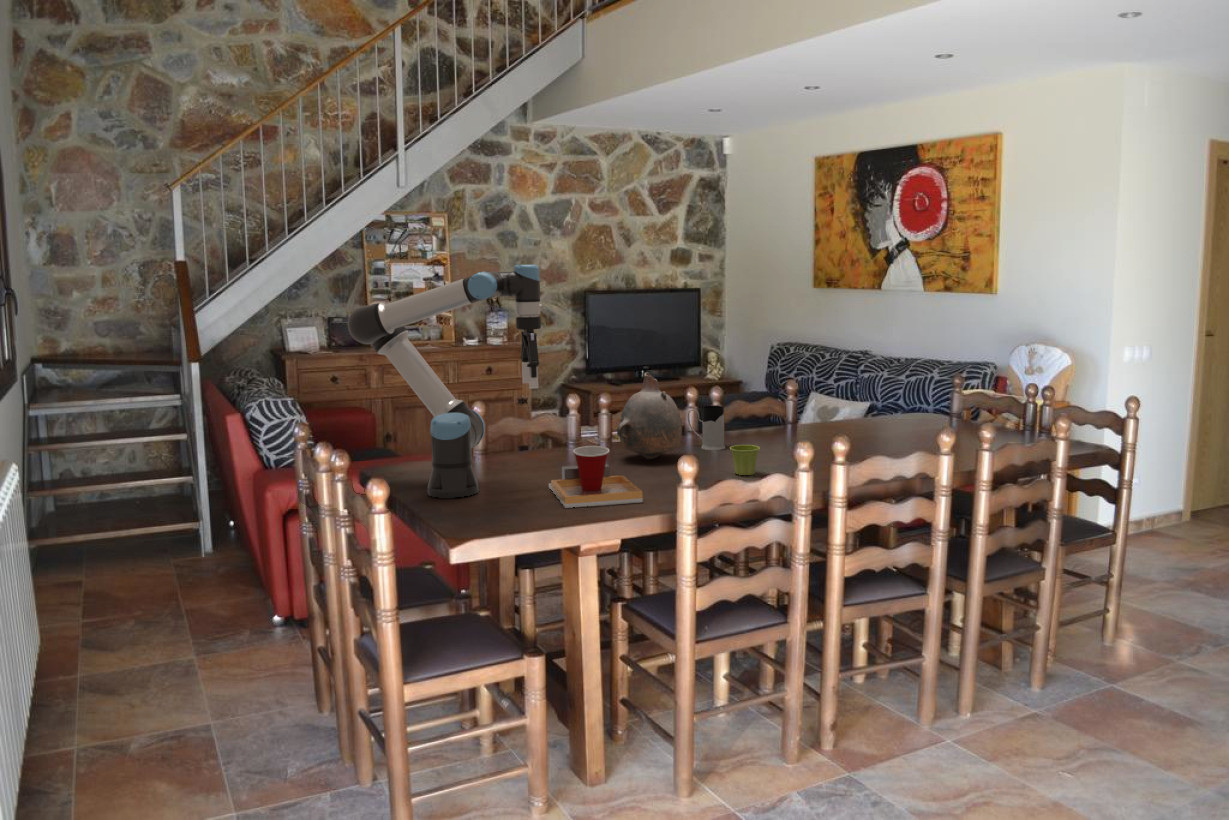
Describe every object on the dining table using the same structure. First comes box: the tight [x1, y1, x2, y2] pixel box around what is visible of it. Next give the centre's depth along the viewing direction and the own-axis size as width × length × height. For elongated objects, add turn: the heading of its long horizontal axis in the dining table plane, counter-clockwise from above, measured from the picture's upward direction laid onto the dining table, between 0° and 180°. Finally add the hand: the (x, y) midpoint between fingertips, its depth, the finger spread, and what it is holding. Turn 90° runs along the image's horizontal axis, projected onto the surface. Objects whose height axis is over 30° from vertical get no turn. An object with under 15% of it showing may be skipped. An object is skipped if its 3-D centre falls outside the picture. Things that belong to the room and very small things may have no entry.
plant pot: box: [729, 444, 761, 476], centre depth 321 cm, size 9×9×9 cm
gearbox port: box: [548, 463, 644, 509], centre depth 297 cm, size 22×27×6 cm
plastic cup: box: [572, 445, 610, 491], centre depth 298 cm, size 11×11×12 cm
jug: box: [616, 372, 683, 460], centre depth 345 cm, size 24×21×30 cm
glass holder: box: [687, 405, 726, 451], centre depth 366 cm, size 9×14×15 cm, turn 65°
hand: (530, 385), depth 308 cm, fingers open, 13 cm apart
